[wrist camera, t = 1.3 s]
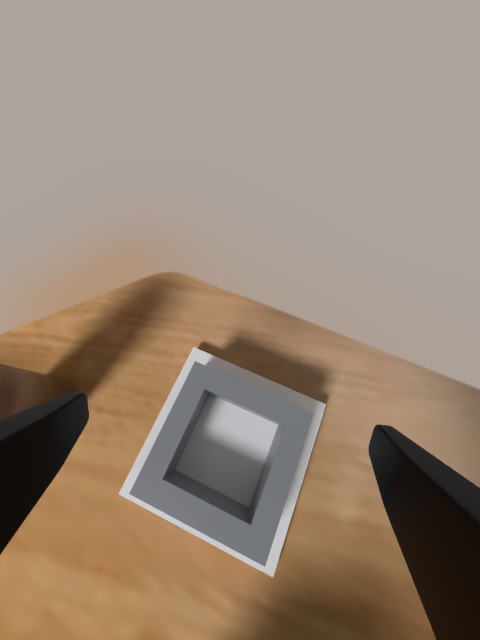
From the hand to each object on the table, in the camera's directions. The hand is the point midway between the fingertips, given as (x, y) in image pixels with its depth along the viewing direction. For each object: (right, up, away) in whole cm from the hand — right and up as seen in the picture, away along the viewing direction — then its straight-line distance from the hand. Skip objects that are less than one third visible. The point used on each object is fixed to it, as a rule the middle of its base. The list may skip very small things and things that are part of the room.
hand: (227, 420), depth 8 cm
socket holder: (-1, -7, +13) cm, 15 cm away
